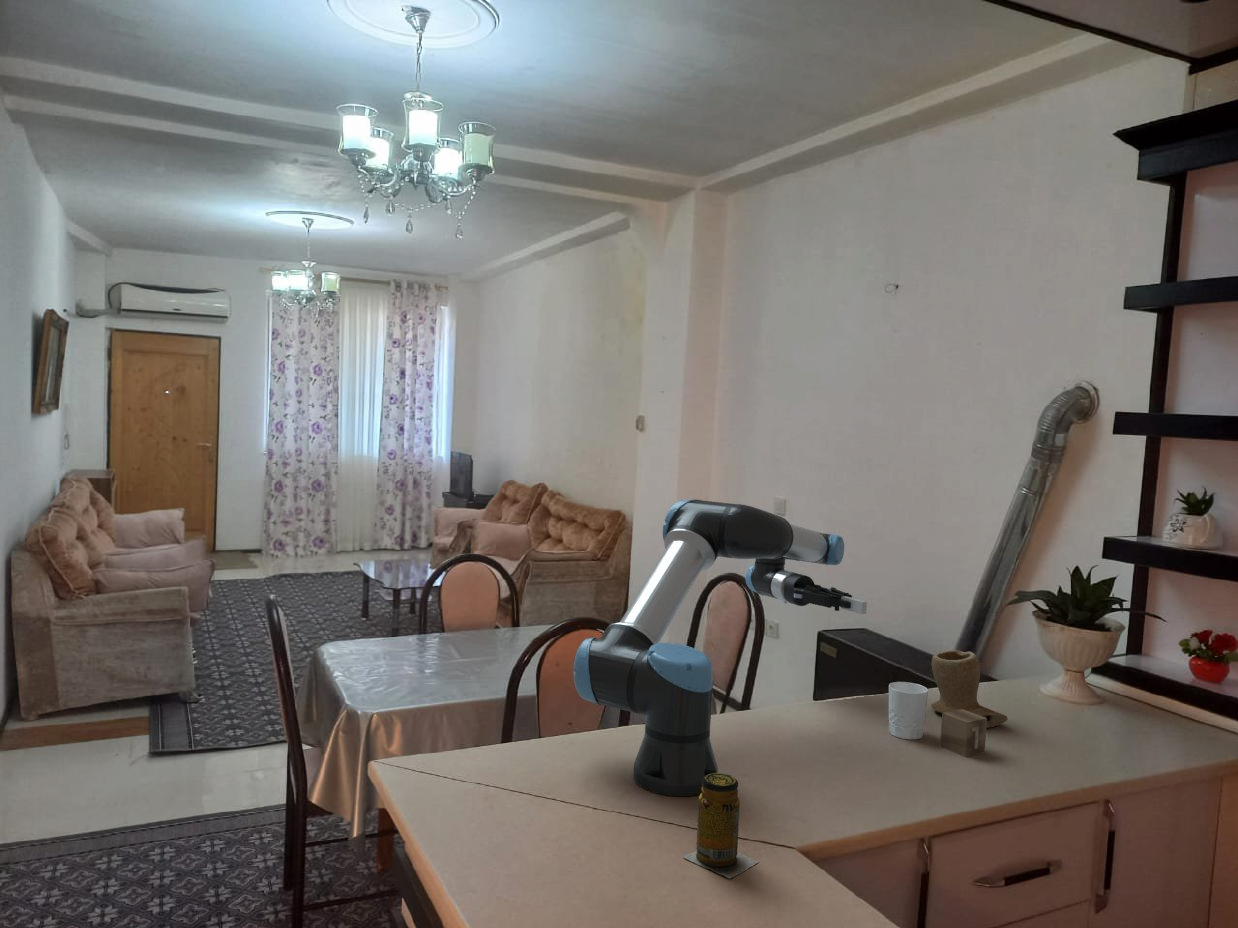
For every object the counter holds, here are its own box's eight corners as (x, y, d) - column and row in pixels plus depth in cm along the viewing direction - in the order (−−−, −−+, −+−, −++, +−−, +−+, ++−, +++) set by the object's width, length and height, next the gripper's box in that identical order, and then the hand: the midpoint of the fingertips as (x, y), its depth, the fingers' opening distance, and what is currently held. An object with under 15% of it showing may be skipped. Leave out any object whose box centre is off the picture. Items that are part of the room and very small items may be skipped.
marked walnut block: (965, 757, 176) (967, 722, 175) (940, 746, 181) (942, 712, 181) (985, 752, 179) (988, 718, 178) (960, 742, 184) (962, 708, 184)
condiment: (712, 842, 137) (716, 765, 136) (758, 862, 131) (762, 783, 130) (682, 858, 131) (686, 778, 130) (729, 880, 125) (733, 797, 125)
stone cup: (916, 711, 203) (920, 646, 202) (955, 705, 208) (959, 642, 207) (968, 734, 189) (972, 664, 188) (1008, 727, 194) (1013, 659, 193)
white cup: (885, 737, 185) (888, 690, 184) (886, 725, 192) (889, 679, 192) (925, 743, 182) (928, 695, 182) (925, 730, 190) (927, 684, 189)
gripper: (813, 601, 222) (884, 622, 202) (772, 605, 216) (841, 626, 195) (814, 571, 222) (886, 589, 201) (774, 574, 215) (843, 592, 195)
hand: (864, 607), depth 198 cm, fingers closed
